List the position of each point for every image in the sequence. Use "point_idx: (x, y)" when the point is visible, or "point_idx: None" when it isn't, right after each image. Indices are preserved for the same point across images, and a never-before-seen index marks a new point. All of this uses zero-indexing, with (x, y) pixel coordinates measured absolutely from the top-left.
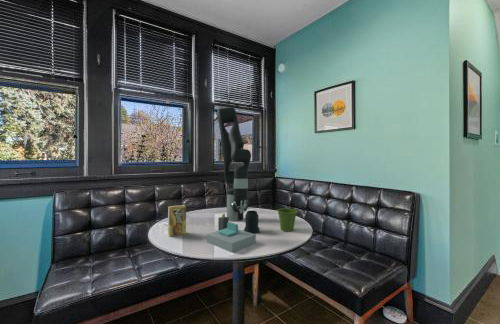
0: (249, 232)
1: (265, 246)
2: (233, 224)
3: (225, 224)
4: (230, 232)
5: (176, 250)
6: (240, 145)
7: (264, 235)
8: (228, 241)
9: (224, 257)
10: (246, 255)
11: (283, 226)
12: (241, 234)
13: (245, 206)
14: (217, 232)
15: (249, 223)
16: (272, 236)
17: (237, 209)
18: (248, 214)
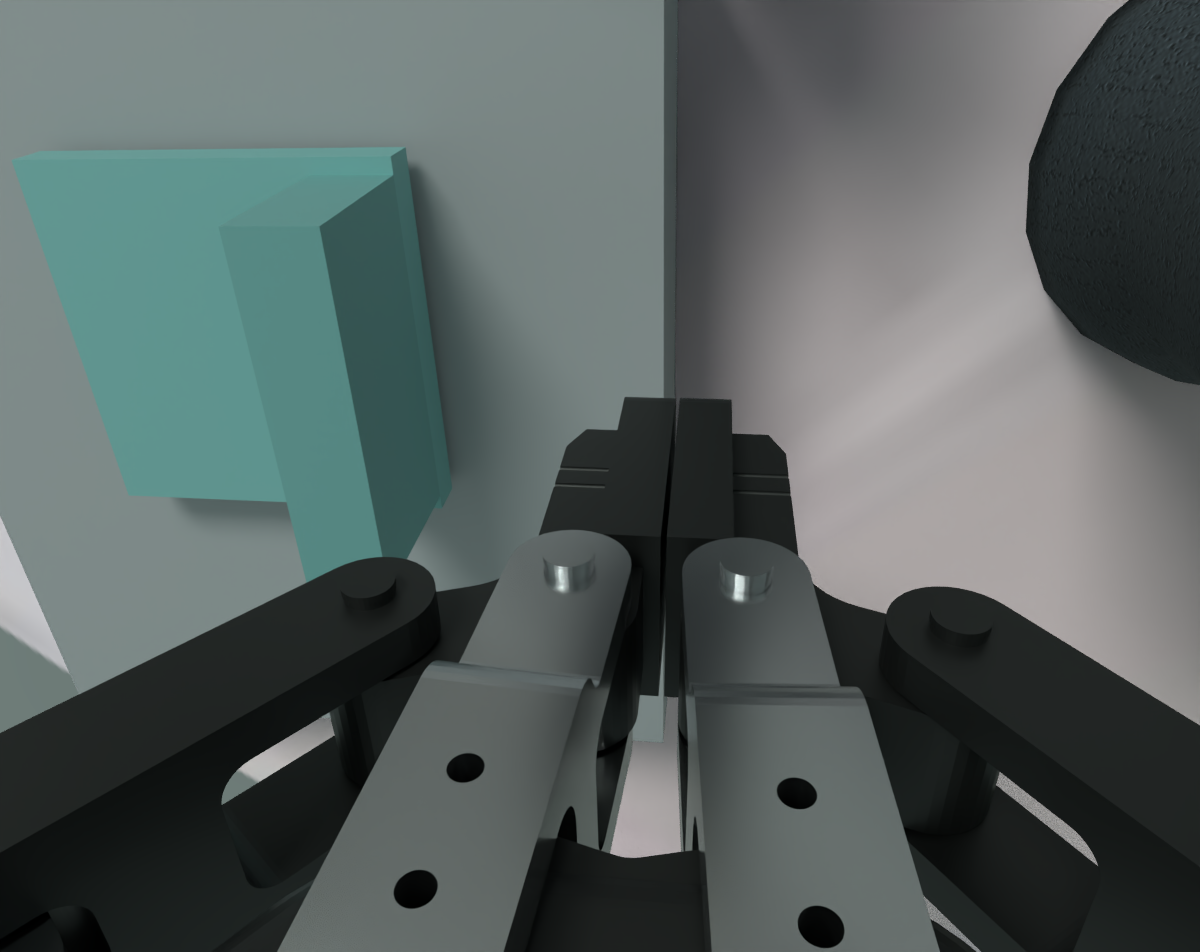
0: (1048, 264)
1: (657, 789)
2: (288, 504)
3: None
4: (235, 448)
5: None
6: None
7: (1114, 558)
8: (64, 624)
9: (17, 633)
10: (273, 764)
11: None
12: (457, 568)
13: (1117, 897)
14: (54, 57)
15: (1181, 319)
16: (1141, 682)
17: (284, 870)
18: None
